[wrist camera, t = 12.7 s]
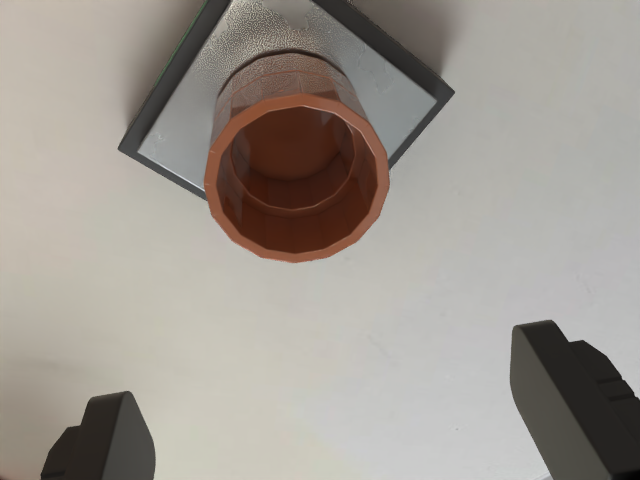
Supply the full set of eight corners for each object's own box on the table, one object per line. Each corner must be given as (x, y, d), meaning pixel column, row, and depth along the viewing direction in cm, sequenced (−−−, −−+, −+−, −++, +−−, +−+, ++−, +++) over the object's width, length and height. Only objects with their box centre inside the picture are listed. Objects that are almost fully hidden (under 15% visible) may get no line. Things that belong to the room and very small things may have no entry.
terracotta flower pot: (197, 64, 24) (183, 112, 19) (353, 38, 24) (381, 79, 19) (232, 202, 27) (227, 275, 22) (368, 179, 27) (395, 246, 22)
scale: (125, 130, 28) (115, 149, 26) (251, -77, 24) (251, -74, 22) (307, 238, 32) (311, 262, 30) (441, 78, 28) (456, 92, 26)
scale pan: (138, 146, 26) (135, 152, 25) (257, -45, 22) (258, -43, 22) (309, 246, 30) (310, 253, 29) (434, 96, 26) (438, 100, 26)
